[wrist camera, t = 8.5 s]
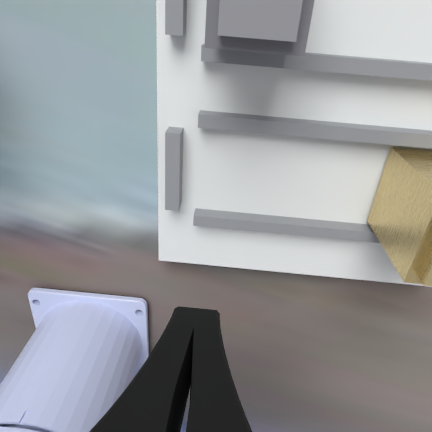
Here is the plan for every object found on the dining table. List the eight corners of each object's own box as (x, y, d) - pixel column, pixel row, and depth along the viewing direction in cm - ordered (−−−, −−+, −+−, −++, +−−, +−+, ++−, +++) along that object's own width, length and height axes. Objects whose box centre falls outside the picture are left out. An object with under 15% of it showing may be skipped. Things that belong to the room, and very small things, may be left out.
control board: (424, 273, 22) (441, 298, 20) (162, 248, 22) (155, 270, 20) (680, -292, 11) (771, -355, 9) (161, -325, 11) (144, -392, 10)
